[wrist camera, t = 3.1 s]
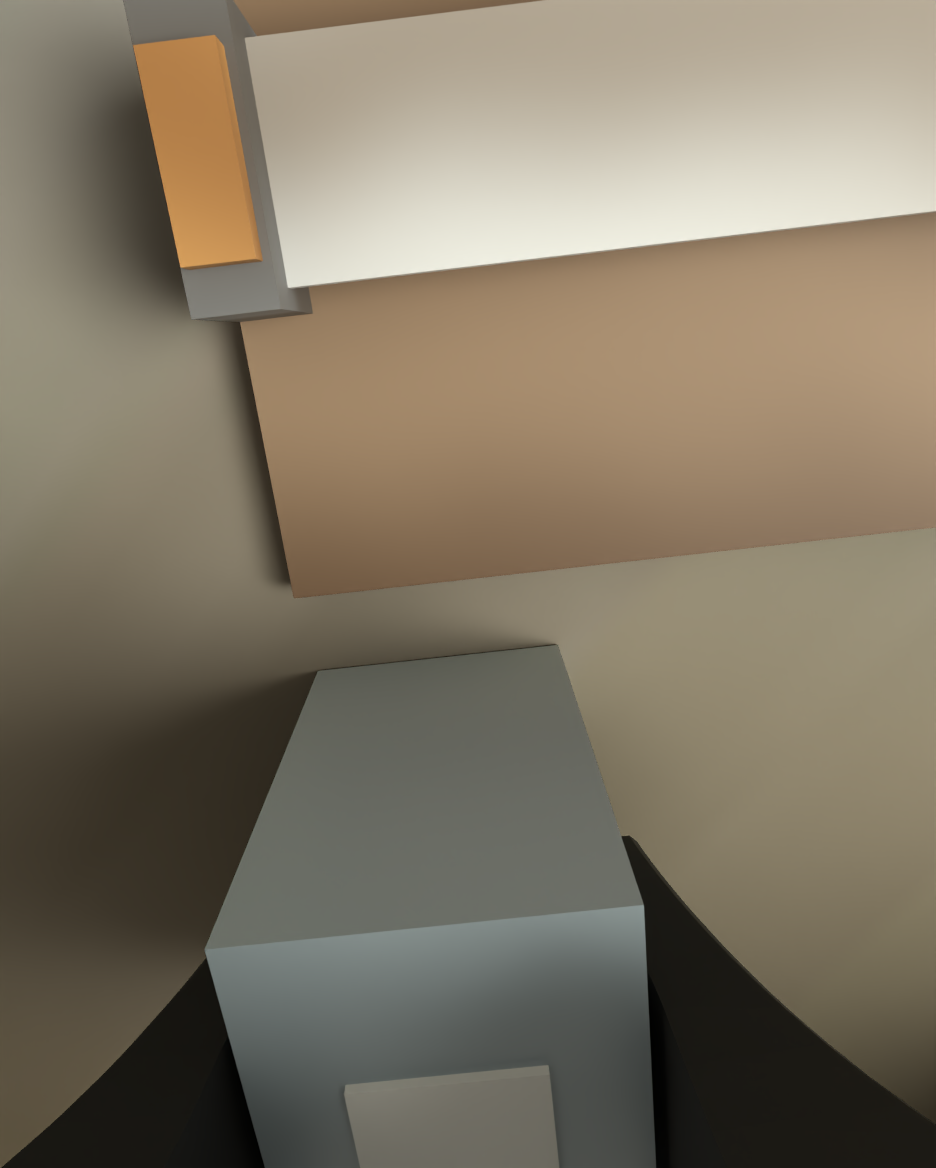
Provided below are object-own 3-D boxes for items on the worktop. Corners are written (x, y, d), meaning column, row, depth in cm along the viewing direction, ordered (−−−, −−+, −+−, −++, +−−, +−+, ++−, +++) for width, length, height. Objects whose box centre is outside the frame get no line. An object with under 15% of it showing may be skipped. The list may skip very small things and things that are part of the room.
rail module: (581, 934, 14) (665, 1339, 9) (372, 956, 14) (316, 1372, 9) (558, 645, 13) (646, 913, 7) (318, 670, 13) (200, 958, 7)
